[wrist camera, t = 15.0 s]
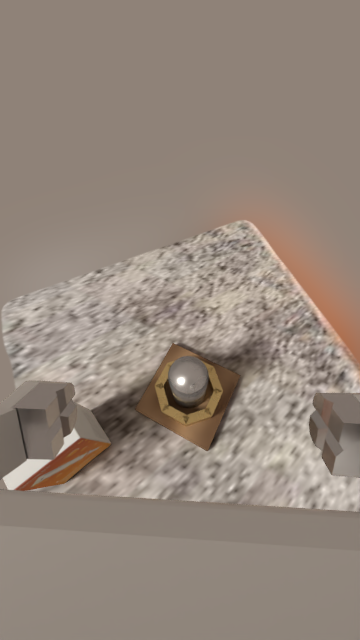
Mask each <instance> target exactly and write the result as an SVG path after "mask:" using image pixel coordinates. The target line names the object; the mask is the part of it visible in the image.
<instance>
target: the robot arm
mask: <svg viewBox="0 0 360 640" xmlns="http://www.w3.org/2000/svg"><path fill="white" fill-rule="evenodd" d="M74 395H75V389H74V385H73V384H72V383H67V382H51V381H26V382H24V383H23V384H22V385H21V386H20V387H18V388H17V389H16V390H15V391H14V392H13V393H11V394H10V395H9V396H8V397H7V398H6V399H4V400H3V401H2V402H1V403H0V480H1V479H2V478H3V477H5V476H6V475H8V474H9V473H10V472H12V471H13V470H14V469H16V468H17V467H19V466H20V465H21V464H23V463H24V462H25V461H27V459H43V460H54V459H55V457H56V456H57V454H58V453H59V451H60V450H61V448H62V446H63V445H64V437H66V436H67V435H69V434H71V432H72V430H73V429H74V427H75V424H76V420H77V405H76V404H75V403H74V402H73V400H72V398H73V397H74ZM313 406H314V407H315V409H316V411H315V412H314V413H313V414H311V415H310V421H309V429H310V435H311V438H312V441H313V443H314V444H315V446H316V447H318V448H319V449H320V450H322V451H323V452H322V459H323V461H324V462H325V464H326V466H327V468H328V469H329V471H330V473H331V475H333V476H345V477H357V478H360V393H316V394H315V396H314V399H313ZM0 640H360V512H353V511H337V510H321V509H306V508H290V507H275V506H259V505H243V504H228V503H211V502H195V501H179V500H162V499H146V498H130V497H114V496H98V495H83V494H67V493H51V492H35V491H20V490H4V489H0Z"/></svg>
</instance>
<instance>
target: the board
mask: <svg viewBox="0 0 360 640" xmlns="http://www.w3.org/2000/svg"><path fill="white" fill-rule="evenodd" d="M183 356H193V357H196V358H198V359H199V360H201V361H203V362H205V363H207V364H209V365H211V366H213V367H214V368H215V371H216V374H217V376H218V379H219V381H220V384H221V387H222V389H223V393H222V395H221V397H220V399H219V402H218V404H217V406H216V408H215V411H214V413H213V415H212V417H211V419H208V420H205V421H202V422H199V423H196V424H193V425H190V426H187V427H186V426H184V425H182V424H180V423H178V422H177V421H175V420H173V419H171V418H169V417H168V416H166V415H164V414H163V413H162V411H161V408H160V404H159V400H158V397H157V393H156V389H155V384H156V382H157V380H158V378H159V377H160V375H161V373H162V371H163V370H164V368H165V366H166V364H167V363H169V362H172V361H176V360H177V359H179V358H180V357H183ZM239 377H240V375H239V374H237V373H234V372H232V371H230V370H228V369H226V368H224V367H222V366H220V365H218V364H216V363H213V362H211V361H209V360H207V359H205V358H203V357H201V356H199V355H197V354H195V353H193V352H190V351H188V350H186V349H184V348H182V347H180V346H178V345H176V344H174V343H173V344H172V346H171V347H170V349H169V351H168V353H167V354H166V356H165V358H164V360H163V361H162V363H161V365H160V367H159V368H158V370H157V372H156V374H155V375H154V377H153V379H152V381H151V382H150V384H149V386H148V387H147V389H146V391H145V393H144V394H143V396H142V398H141V400H140V401H139V403H138V405H137V407H136V408H135V410H136V411H138V412H139V413H141V414H143V415H145V416H146V417H148V418H150V419H152V420H153V421H155V422H157V423H159V424H160V425H162V426H164V427H166V428H167V429H169V430H171V431H173V432H174V433H176V434H178V435H180V436H181V437H183V438H185V439H187V440H188V441H190V442H192V443H194V444H196V445H197V446H199V447H201V448H203V449H204V450H206V451H208V449H209V447H210V445H211V442H212V440H213V438H214V435H215V433H216V431H217V428H218V426H219V424H220V421H221V419H222V417H223V414H224V412H225V410H226V408H227V405H228V403H229V401H230V398H231V396H232V394H233V391H234V389H235V387H236V384H237V382H238V380H239ZM165 392H166V396H167V399H168V403H169V406H171V407H173V408H175V409H177V410H178V411H180V412H182V413H184V414H186V415H188V414H191V413H194V412H197V411H200V410H203V409H206V407H207V405H208V402H209V400H210V398H211V396H212V394H213V393H212V390H211V387H210V385H209V382H208V384H207V388H206V393H205V397H204V400H203V401H202V403H201V404H200V405H199V406H197V407H195V408H191V409H187V408H183V407H181V406H180V405H178V404H177V403H176V401H175V400H174V397H173V394H172V391H171V387H170V384H169V383H168V385H167V387H166V389H165Z"/></svg>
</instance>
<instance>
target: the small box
mask: <svg viewBox="0 0 360 640" xmlns="http://www.w3.org/2000/svg"><path fill="white" fill-rule="evenodd" d="M74 403H75V402H74ZM75 404H76V405H77V420H76V424H75V427H74V429H73V430H72V432H71V434H69V435H67V436H66V437H64V445H63V446H62V448H61V450H60V451H59V453H58V454H57V456H56V457H55V459H54V460H43V459H27V461H25V462H24V463H23V464H21V465H20V466H19V467H17V468H16V469H14V470H13V471H12V472H10V473H9V474H8V475H6V476H5V477H3V479H4V482H5V484H6V486H7V488H8V490H20V491H25V490H31V489H37V488H42V487H47V486H53V485H59V484H64V483H66V482H67V481H68V480H69V479H70V478H71V477H72V476H73V475H74V474H76V473H77V472H78V471H79V470H80V469H82V468H83V467H84V466H85V465H86V464H87V463H89V462H90V461H91V460H92V459H94V458H95V457H96V456H97V455H99V454H100V453H101V452H102V451H103V450H105V449H106V448H107V447H108V446H110V445H111V442H110V440H109V439H108V437H107V435H106V434H105V432H104V431H103V429H102V427H101V426H100V424H99V423H98V421H97V420H96V418H95V416H94V415H93V413H92V412H91V410H89V409H87V408H85V407H83V406H81V405H79V404H77V403H75Z"/></svg>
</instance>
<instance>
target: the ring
mask: <svg viewBox="0 0 360 640" xmlns="http://www.w3.org/2000/svg"><path fill="white" fill-rule="evenodd" d="M174 362H175V361H172V362H169V363H167V364H166V366H165V368H164V370H163V371H162V373H161V375H160V377H159V378H158V380H157V382H156V384H155V389H156V393H157V397H158V400H159V404H160V408H161V411H162V413H163V414H164V415H166V416H168V417H169V418H171V419H173V420H175V421H177V422H178V423H180V424H182V425H184V426H186V427H187V426H190V425H193V424H196V423H199V422H202V421H205V420H208V419H211V417H212V415H213V413H214V411H215V408H216V406H217V404H218V402H219V399H220V397H221V395H222V393H223V389H222V387H221V384H220V381H219V379H218V376H217V374H216V371H215V368H214V367H213V366H211V365H209V364H207V363H205V362H203V361H202V362H203V363H204V364H205V366H206V367H207V370H208V374H209V378H208V382H209V385H210V387H211V390H212V393H213V394H212V396H211V398H210V400H209V402H208V405H207V407H206V409H203V410H200V411H197V412H194V413H191V414H188V415H186V414H184V413H182V412H180V411H178V410H177V409H175V408H173V407H171V406H169V403H168V399H167V396H166V392H165V389H166V387H167V385H168V383H169V380H168V372H169V369H170V367H171V365H172V364H173V363H174Z"/></svg>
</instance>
